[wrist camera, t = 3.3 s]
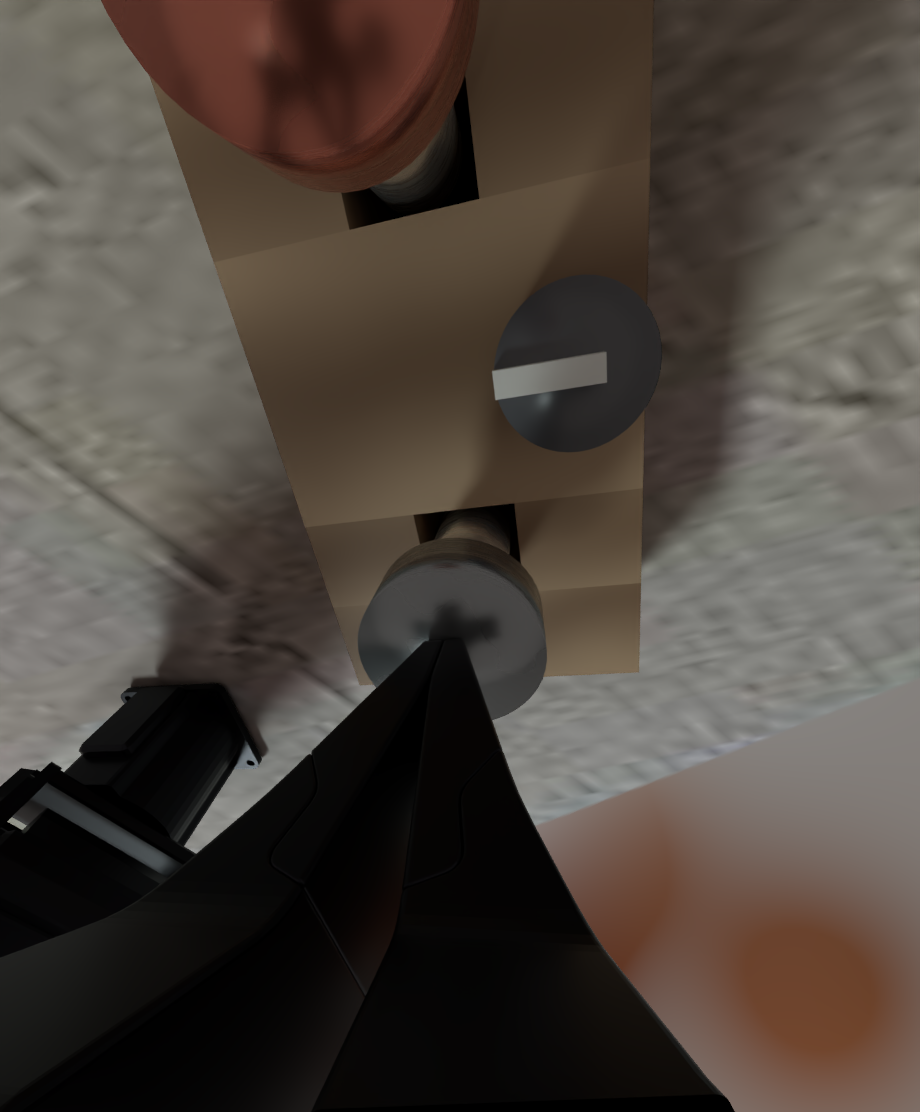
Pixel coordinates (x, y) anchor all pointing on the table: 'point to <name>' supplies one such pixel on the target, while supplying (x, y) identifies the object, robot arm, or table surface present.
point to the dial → (577, 363)
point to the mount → (453, 322)
